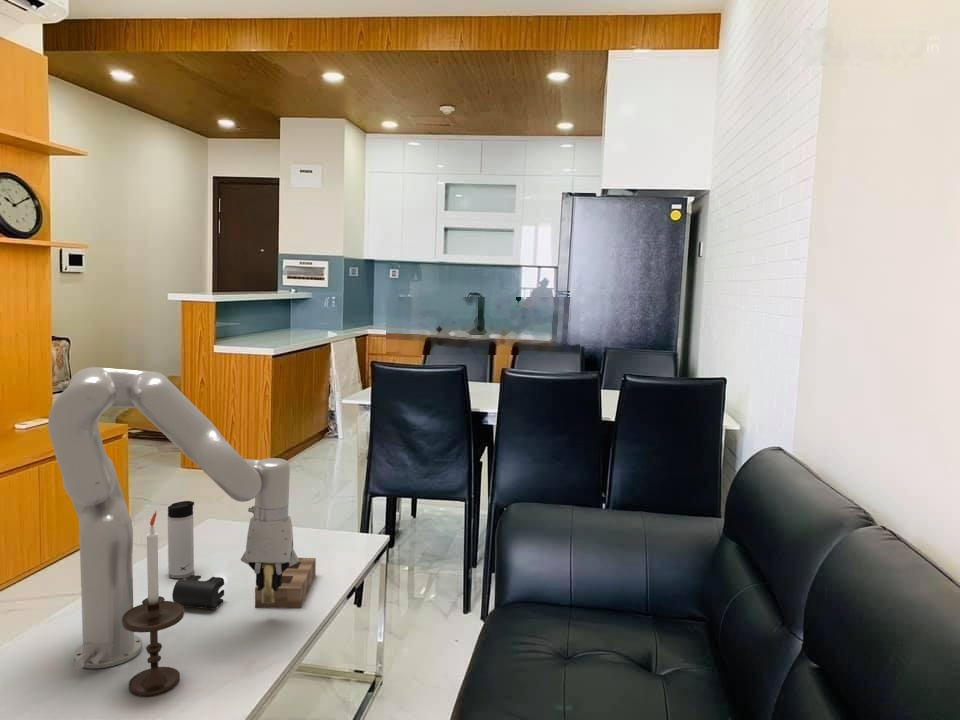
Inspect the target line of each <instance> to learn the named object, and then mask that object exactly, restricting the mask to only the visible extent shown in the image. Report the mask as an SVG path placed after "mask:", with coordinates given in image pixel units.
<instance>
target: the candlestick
mask: <svg viewBox="0 0 960 720" xmlns="http://www.w3.org/2000/svg"><path fill="white" fill-rule="evenodd" d="M156 518H157V510H155V511H154V513H153V514H152V517H151V519H150V521H149V525H150V527H149V528H150V529H149V532H148V533H146V555H147V556H146V560H147V561H146V563H147V564H146V565H147V566H146V567H147V573H146V574H147V598H144V599H143V600H142V601H141V604H139V605H136V606H133V608H132V609H130V610H128V611H127V612H126V613H125V614H124V615H123V617H122V625H123V627H124V628H125V629H126V630H129V631H132V632H134V633H140V634H141V633H149V642H150V643H149V644H148V645H147V646H146V647H145V649H146V652H147V654H149V657H148V658H147V663H148V664H150V668H147V669H144V670H142V671H140V672H138V673H136V674H135V675H133V676H132V678H130V680H129V681H128V690H129V693H130V694H131V695H133V696H135V697H138V698H139V697H140V698H152V697H157V696H160V695H163V694H166V693H168V692H170V691H172V690H174V689H175V688H176V687H177V685H178V684H179V683H180V680H181V679H180V678H181V677H180V675H181V673H180V672H179V670H178V669H176V668H174V667H172V666H171V667H170V666H159V663H160V661H161V660H162V656H161V655H160V654H159V653H160V652H161V651H162V648H163V645H162V643H161V642H159V640H158V639H159V637H158V635H159V633H158V631H162V630H165V629H168V628H170V627H171V628H172V626H175V625H176V624H179V623H180V621H181V620H183V618H184V617H185V608H184V606H182V605H181V604H179V603H176V602H173V600H165V597H164V596H161V595H159V593H160V592H159V547H158V546H159V545H158V543H159V541H158V532H157V531H155V527H154V525H155V521H156Z"/></svg>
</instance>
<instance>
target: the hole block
mask: <svg viewBox="0 0 960 720" xmlns="http://www.w3.org/2000/svg"><path fill="white" fill-rule="evenodd" d="M298 559H299V560H298V562H297V563H296V564H294V565H292V566H289V567H288V568H287V569H286V570H285V571H283V572H282V585H281V586H279V588H278V590H277V591H275V602H274V603H271V604H264V603H262V590H260V591H258V585H255V588H254V608H259V609H261V608H263V609H264V608H265V609H266V608H267V609H268V608H269V609H271V608H272V609H273V608H274V609H280V608H281V609H302V605H303V604H304V602H305V601H306V600H305V599H306V598H307V595H308V593H309V591H310V588H311V586H312V584H313V582H314V580H315V577H316V572H317V571H316V570H317V569H316V566H317V564H316V563H317V559H316V557H298Z"/></svg>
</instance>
